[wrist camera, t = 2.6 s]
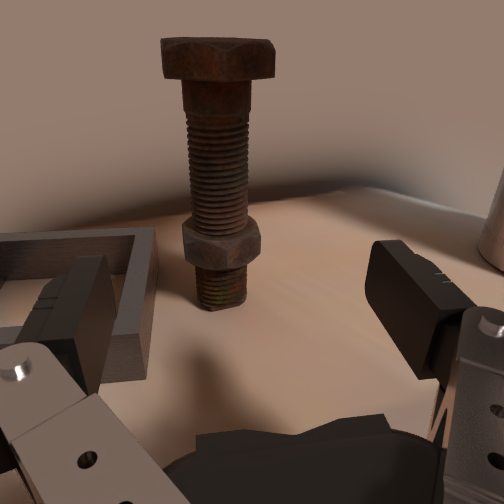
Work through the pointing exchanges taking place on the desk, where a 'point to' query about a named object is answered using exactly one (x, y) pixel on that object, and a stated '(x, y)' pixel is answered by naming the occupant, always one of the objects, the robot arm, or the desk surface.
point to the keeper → (120, 261)
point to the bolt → (218, 157)
